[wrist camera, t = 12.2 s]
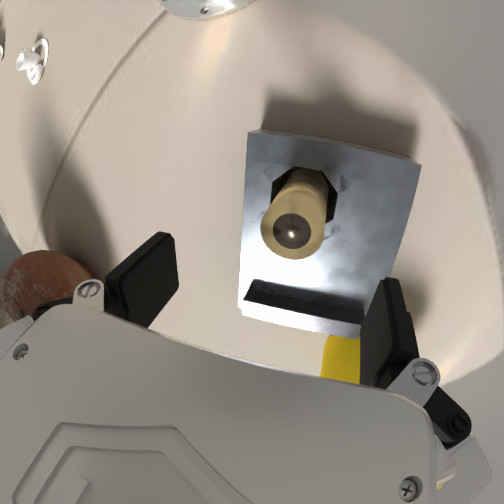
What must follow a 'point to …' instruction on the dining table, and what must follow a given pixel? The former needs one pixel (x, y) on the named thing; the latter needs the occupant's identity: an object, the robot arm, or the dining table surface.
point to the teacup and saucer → (33, 61)
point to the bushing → (297, 216)
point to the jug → (38, 283)
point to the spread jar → (1, 52)
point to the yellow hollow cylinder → (341, 359)
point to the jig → (335, 235)
